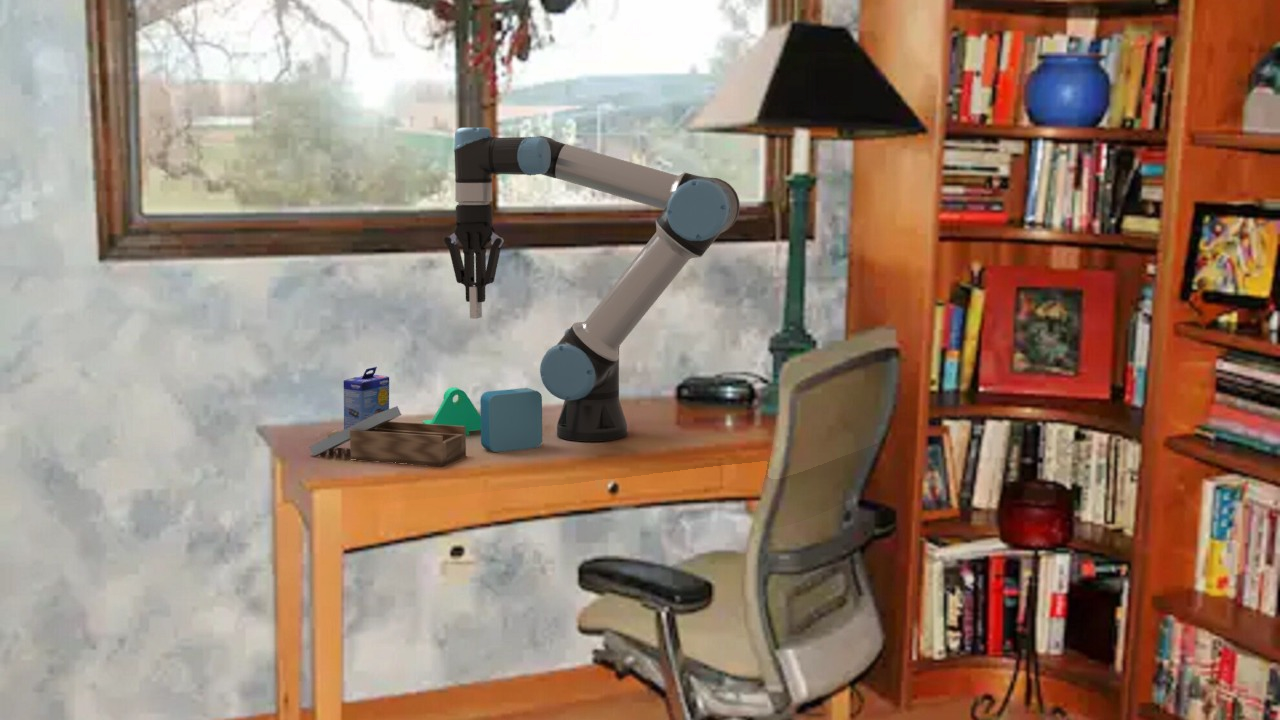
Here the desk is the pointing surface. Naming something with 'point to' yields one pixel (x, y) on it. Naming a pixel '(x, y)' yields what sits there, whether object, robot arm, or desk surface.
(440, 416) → the camera mount
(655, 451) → the desk surface
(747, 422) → the desk surface
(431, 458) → the pencil box
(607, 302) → the robot arm
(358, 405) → the ink cartridge box
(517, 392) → the data package
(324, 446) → the cover plate
